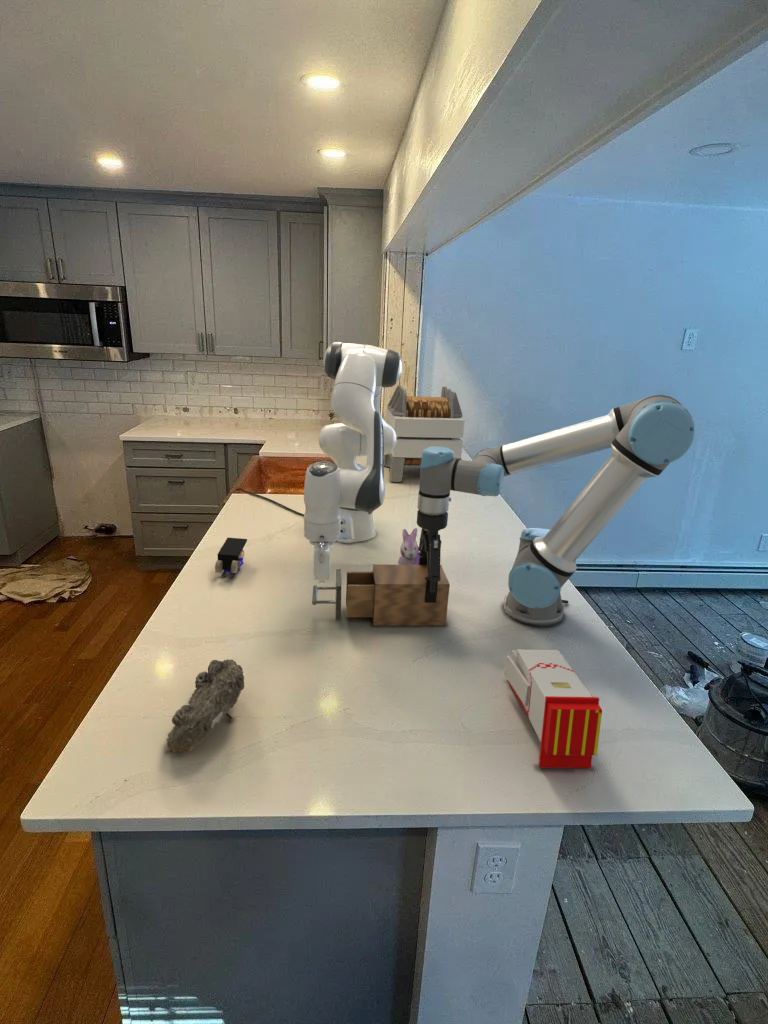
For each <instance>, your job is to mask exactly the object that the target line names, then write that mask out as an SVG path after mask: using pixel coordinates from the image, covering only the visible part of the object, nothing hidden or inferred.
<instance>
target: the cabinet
mask: <svg viewBox="0 0 768 1024" xmlns="http://www.w3.org/2000/svg"><path fill="white" fill-rule="evenodd" d="M371 572H373V575H374V582H375V599H374V617H371V619H372V625H373V626H375V627H377V626H378V627H379V626H384V627H385V626H389V627H390V626H391V627H393V626H395V627H396V626H397V627H398V626H446V625H447V615H448V605H449V597H450V586H451V585H450V582H449V579H448V577H447V574H446V573H445V571H444V568H443V565H442V564H440V578H441V579H440V581H438V586H437V597H436V603H425V592H426V580H425V577H428V566H427V565H399V564H387V563H386V564H385V563H384V564H383V563H382V564H381V563H380V564H372V565H371Z"/></svg>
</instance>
